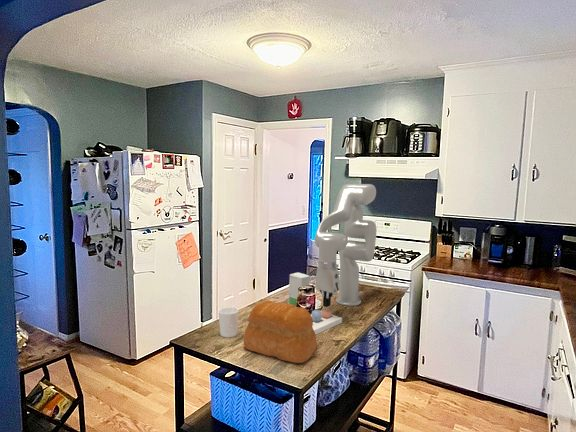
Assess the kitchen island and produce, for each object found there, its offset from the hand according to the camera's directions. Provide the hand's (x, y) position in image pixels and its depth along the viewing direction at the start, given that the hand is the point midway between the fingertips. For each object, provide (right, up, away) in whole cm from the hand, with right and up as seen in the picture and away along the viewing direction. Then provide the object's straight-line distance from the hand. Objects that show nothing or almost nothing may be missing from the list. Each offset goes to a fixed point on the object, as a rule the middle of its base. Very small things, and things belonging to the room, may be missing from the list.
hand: (326, 305), depth 168 cm
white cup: (-41, -9, -11) cm, 43 cm away
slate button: (-5, -5, -5) cm, 8 cm away
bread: (-20, -11, -23) cm, 33 cm away
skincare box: (-11, -5, +23) cm, 26 cm away
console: (-5, -9, -4) cm, 11 cm away
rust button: (0, -6, 0) cm, 6 cm away
